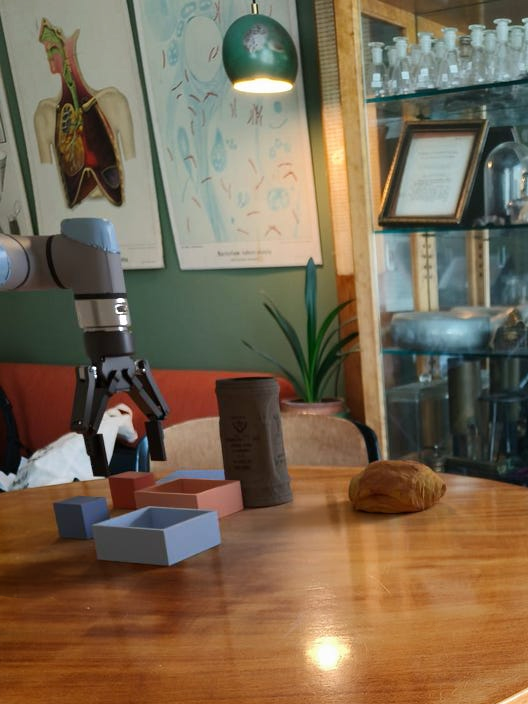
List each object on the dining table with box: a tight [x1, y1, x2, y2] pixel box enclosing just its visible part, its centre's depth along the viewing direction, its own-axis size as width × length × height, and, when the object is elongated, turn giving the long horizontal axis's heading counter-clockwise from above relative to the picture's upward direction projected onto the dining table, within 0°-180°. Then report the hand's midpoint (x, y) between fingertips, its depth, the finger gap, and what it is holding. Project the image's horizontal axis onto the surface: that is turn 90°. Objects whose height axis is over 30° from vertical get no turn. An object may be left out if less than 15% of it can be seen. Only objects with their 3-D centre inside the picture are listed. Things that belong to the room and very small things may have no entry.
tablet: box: [155, 469, 225, 485], centre depth 162 cm, size 19×13×1 cm, turn 88°
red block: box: [107, 471, 156, 510], centre depth 144 cm, size 5×5×5 cm
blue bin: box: [91, 506, 222, 567], centre depth 117 cm, size 11×11×5 cm
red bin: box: [134, 478, 244, 520], centre depth 136 cm, size 11×11×5 cm
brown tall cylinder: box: [214, 376, 294, 508], centre depth 145 cm, size 15×11×20 cm
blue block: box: [52, 495, 111, 540], centre depth 127 cm, size 5×5×5 cm
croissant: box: [347, 459, 447, 514], centre depth 139 cm, size 14×16×8 cm
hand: (131, 468), depth 143 cm, fingers open, 13 cm apart
